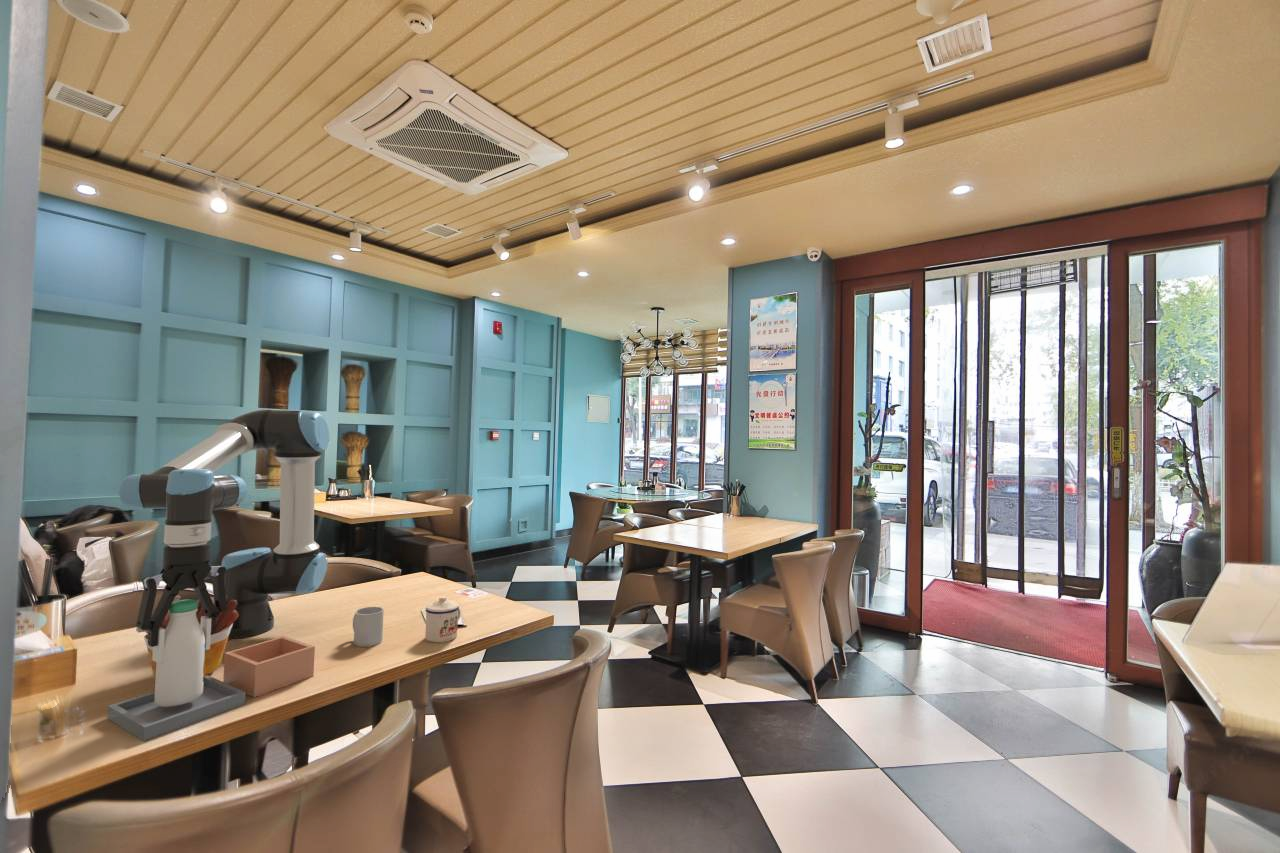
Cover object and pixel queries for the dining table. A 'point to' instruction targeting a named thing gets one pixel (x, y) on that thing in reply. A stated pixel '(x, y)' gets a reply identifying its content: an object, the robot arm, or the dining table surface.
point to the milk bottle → (181, 657)
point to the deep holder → (268, 665)
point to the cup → (368, 626)
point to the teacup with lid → (442, 620)
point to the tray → (174, 710)
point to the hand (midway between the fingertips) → (181, 654)
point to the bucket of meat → (217, 636)
